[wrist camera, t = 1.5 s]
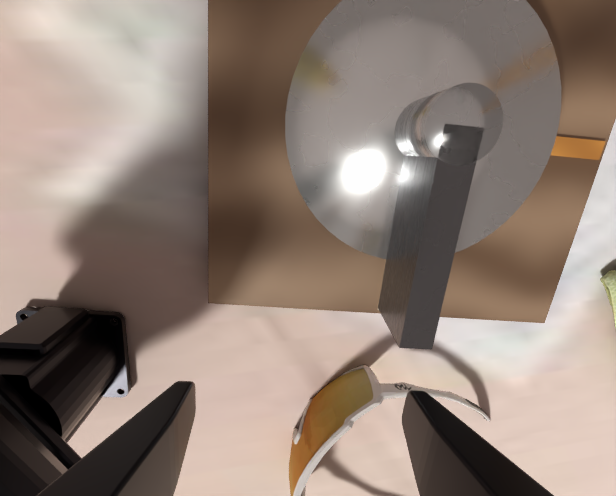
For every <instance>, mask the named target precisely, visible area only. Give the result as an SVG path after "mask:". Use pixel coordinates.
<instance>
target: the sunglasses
mask: <svg viewBox="0 0 616 496" xmlns="http://www.w3.org/2000/svg"><path fill="white" fill-rule="evenodd" d="M410 390H417V391H425V392H426V393H428V394H429V395H430V396H431V397H438V398H443V399H447V400H451V401H455V402H458V403H460V404H462V405H464V406H467V407H469V408H471V409H473V410H475V411H477V412H478V413H480V414H481V415H482V416H483V417H484V418H485V419H486V420H487V421H490V418H489V417H488V416H487V414H486V413H485V412H484V411H483V410H482V409H481V408H480V407H479V406H477V405H476V404H474V403H472V402H470V401H469V400H467V399H465V398H462V397H460V396H458V395H456V394H454V393H451V392H446V391H439V390H432V389H427V388H422V387H418V386H414V385H411V384H407V383H394V384H379V382H378V379H377V377H376V376H375V374H374V373H373V371H372V370H371V369H370V368H369V366H366V365H362V366H359V367H356V368H354V369H351V370H349V371H347V372H345V373H343V374H342V375H341V376H340V377H338V378H337V379H335V380H334V381H332V382H331V383H329V384H328V385H327V386H325V387H324V388H323V389H322V390H321V391H320V392H318V394H317V395H316V396H315V397H314V398H313V399H310V400H309V402H308V404H307V406H306V408H305V411H304V413H303V417H302V419H301V422H300V426H299V428H298V429H297V428H294V431H293V437H292V438H293V440H292V447H291V455H290V462H289V481H290V492H291V496H305V487H306V483H307V481H308V479H309V476H310V475H311V473H312V472H313V470H314V469H315V467H316V466H317V464H318V463H319V461H320V460H321V459H322V457H323V456H324V455H325V454H326V452H327V451H328V450H329V449H330V448H331V447H332V446H333V445H334V444H335V443H336V442H337V441H338V440H339V439H340V438H341V437H342V436H343V435H344V434H345V433H346V432H347V431H348V430H349V429H351V428H352V425H353V423H354V422H355V421H356V420H357V419H359V418H360V417H361V416H363V415H364V414H365V413H367V412H369V411H370V410H372V409H373V408H375V407H376V406H378V405H380V404H381V403H382V401H383V399H391V398H404V397H406V396H407V393H408V392H409V391H410Z"/></svg>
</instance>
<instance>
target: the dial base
mask: <svg viewBox="0 0 616 496" xmlns="http://www.w3.org/2000/svg"><path fill="white" fill-rule="evenodd" d="M341 1H342V0H208V303H215V304H232V305H249V306H266V307H282V308H299V309H316V310H333V311H350V312H367V313H380V311H379V309H378V304H379V298H380V292H381V286H382V280H383V275H384V269H385V263H386V259H382V258H379V257H375V256H371V255H368V254H366V253H363V252H361V251H359V250H356V249H354V248H352V247H351V246H349V245H347V244H346V243H344V242H342V241H341V240H339V239H338V238H337V237H336V236H334V235H333V234H332V233H331V232H329V231H328V230H327V229H326V228H325V227H324V226H323V225H322V224H321V223H320V222H319V221H318V220H317V218H316V217H315V216H314V214H313V213H312V212H311V210H310V209H309V208H308V206H307V205H306V203H305V201H304V199H303V197H302V196H301V194H300V192H299V190H298V187H297V185H296V182H295V180H294V177H293V175H292V171H291V167H290V163H289V159H288V155H287V147H286V138H285V115H286V108H287V100H288V94H289V90H290V86H291V82H292V78H293V75H294V72H295V70H296V67H297V65H298V62H299V60H300V57H301V55H302V53H303V51H304V49H305V47H306V46H307V44H308V42H309V40H310V38H311V36H312V35H313V34H314V32H315V31H316V29H317V28H318V27H319V25H320V24H321V22H322V21H323V20H324V18H325V17H326V16H327V15H328V14H329V13H330V12H331V11H332V10H333V9H334V8H335V7H336V5H337V4H338V3H339V2H341ZM526 1H527V2H528V3H529V4H530V6H531V7H532V8H533V9H534V10H535V12H536V13H537V14H538V16H539V18H540V19H541V21H542V23H543V25H544V26H545V28H546V30H547V32H548V34H549V37H550V39H551V42H552V44H553V47H554V50H555V54H556V57H557V61H558V65H559V72H560V80H561V112H560V120H559V127H558V131H557V135H556V139H555V143H554V146H553V149H552V152H551V155H550V157H549V160H548V163H547V165H546V167H545V169H544V171H543V173H542V175H541V177H540V179H539V181H538V182H537V184H536V185H535V187H534V188H533V190H532V192H531V193H530V195H529V196H528V197H527V199H526V200H525V201H524V202H523V204H522V205H521V206H520V207H519V209H518V210H517V211H516V212H515V213H514V214H513V215H512V216H511V217H510V218H509V219H508V220H507V221H506V222H505V223H504V224H502V225H501V226H500V227H499V228H498V229H496V230H495V231H494V232H493V233H491V234H490V235H488V236H487V237H485V238H484V239H482V240H481V241H479V242H477V243H475V244H473V245H471V246H469V247H468V248H466V249H464V250H461V251H458V252H456V253H455V254H454V258H453V262H452V267H451V271H450V275H449V279H448V283H447V288H446V292H445V296H444V300H443V304H442V309H441V313H440V317H451V318H468V319H484V320H501V321H518V322H535V323H545V320H546V317H547V314H548V311H549V308H550V305H551V303H552V300H553V297H554V294H555V291H556V288H557V285H558V282H559V280H560V277H561V274H562V271H563V268H564V265H565V262H566V259H567V257H568V254H569V251H570V248H571V245H572V242H573V239H574V236H575V234H576V231H577V228H578V225H579V222H580V219H581V216H582V213H583V211H584V208H585V205H586V202H587V199H588V196H589V193H590V190H591V188H592V185H593V182H594V179H595V176H596V173H597V170H598V168H599V165H600V162H601V159H602V156H603V153H604V150H605V147H606V145H607V142H608V139H609V136H610V133H611V130H612V127H613V124H614V122H615V119H616V0H526Z"/></svg>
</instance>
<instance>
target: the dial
mask: <svg viewBox="0 0 616 496" xmlns="http://www.w3.org/2000/svg"><path fill="white" fill-rule="evenodd" d="M560 112H561V80H560V72H559V65H558V61H557V57H556V54H555V50H554V47H553V44H552V42H551V39H550V37H549V34H548V32H547V30H546V28H545V26H544V25H543V23H542V21H541V19H540V18H539V16H538V14H537V13H536V12H535V10H534V9H533V8H532V7H531V6H530V4H529V3H528V2H527V1H526V0H342V1H341V2H339V3H338V4H337V5H336V7H335V8H334V9H333V10H332V11H331V12H330V13H329V14H328V15H327V16H326V17H325V18H324V20H323V21H322V22H321V24H320V25H319V27H318V28H317V29H316V31H315V32H314V34H313V35H312V36H311V38H310V40H309V42H308V44H307V46H306V47H305V49H304V51H303V53H302V55H301V57H300V60H299V62H298V65H297V67H296V70H295V72H294V75H293V78H292V82H291V86H290V90H289V94H288V100H287V108H286V115H285V138H286V147H287V155H288V159H289V163H290V167H291V171H292V175H293V177H294V180H295V182H296V185H297V187H298V190H299V192H300V194H301V196H302V197H303V199H304V201H305V203H306V205H307V206H308V208H309V209H310V210H311V212H312V213H313V214H314V216H315V217H316V218H317V220H318V221H319V222H320V223H321V224H322V225H323V226H324V227H325V228H326V229H327V230H328V231H329V232H331V233H332V234H333V235H334V236H336V237H337V238H338V239H339V240H341V241H342V242H344V243H346V244H347V245H349V246H351V247H352V248H354V249H356V250H359V251H361V252H363V253H366V254H368V255H371V256H375V257H379V258H382V259H386V263H385V269H384V275H383V280H382V286H381V292H380V298H379V304H378V309H379V311H380V313H381V315H382V316H383V318H384V320H385V322H386V324H387V326H388V328H389V329H390V331H391V333H392V335H393V337H394V339H395V341H396V342H397V344H398V346H399V348H415V349H432V346H433V342H434V338H435V334H436V330H437V325H438V321H439V317H440V313H441V309H442V304H443V300H444V296H445V292H446V288H447V283H448V279H449V275H450V271H451V267H452V262H453V258H454V254H455V253H456V252H458V251H461V250H464V249H466V248H468V247H469V246H471V245H473V244H475V243H477V242H479V241H481V240H482V239H484V238H485V237H487V236H488V235H490V234H491V233H493V232H494V231H495V230H496V229H498V228H499V227H500V226H501V225H502V224H504V223H505V222H506V221H507V220H508V219H509V218H510V217H511V216H512V215H513V214H514V213H515V212H516V211H517V210H518V209H519V207H520V206H521V205H522V204H523V202H524V201H525V200H526V199H527V197H528V196H529V195H530V193H531V192H532V190H533V188H534V187H535V185H536V184H537V182H538V181H539V179H540V177H541V175H542V173H543V171H544V169H545V167H546V165H547V163H548V160H549V157H550V155H551V152H552V149H553V146H554V143H555V139H556V135H557V131H558V127H559V120H560Z"/></svg>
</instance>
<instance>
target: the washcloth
mask: <svg viewBox="0 0 616 496" xmlns="http://www.w3.org/2000/svg"><path fill="white" fill-rule="evenodd" d="M600 280H601V282H602V283H603V285H604V287H605V290H606V292H607V295H608V299H609V301H610V305H611V306H612V309H613V313H614V322H615V328H616V270H613V271H611V270H610V271H608V273H607V274H606V275H604V276H603V277H602V278H601V279H600Z"/></svg>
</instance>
